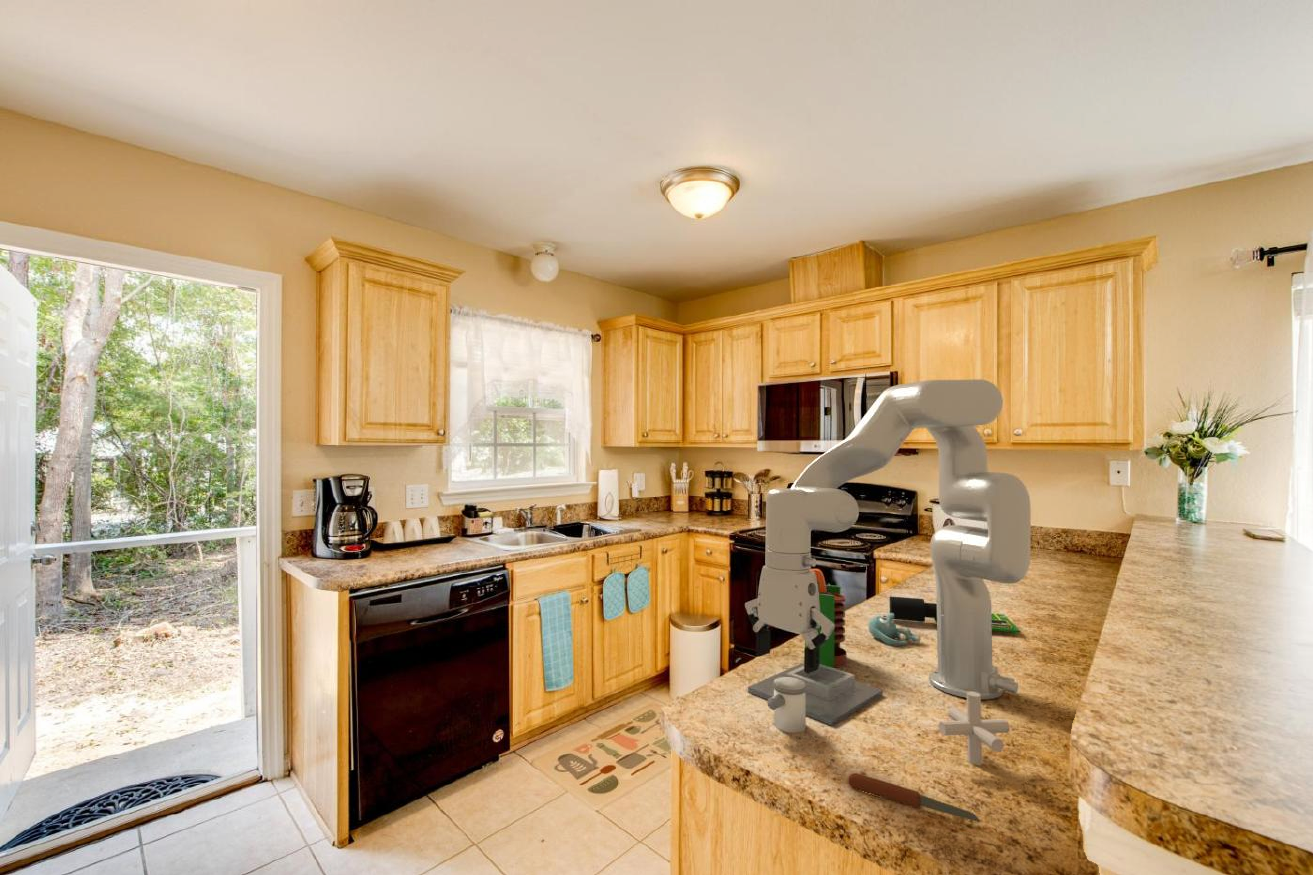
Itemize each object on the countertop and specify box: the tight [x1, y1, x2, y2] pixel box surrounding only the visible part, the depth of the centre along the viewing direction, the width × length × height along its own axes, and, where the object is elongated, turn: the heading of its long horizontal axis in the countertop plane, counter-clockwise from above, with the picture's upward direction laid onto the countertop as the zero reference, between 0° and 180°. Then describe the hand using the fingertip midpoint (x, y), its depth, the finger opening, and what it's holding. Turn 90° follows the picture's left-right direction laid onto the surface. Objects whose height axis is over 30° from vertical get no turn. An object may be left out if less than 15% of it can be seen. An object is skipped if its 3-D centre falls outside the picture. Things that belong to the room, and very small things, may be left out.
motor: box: [804, 568, 847, 669], centre depth 123 cm, size 10×9×20 cm
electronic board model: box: [889, 595, 1021, 634], centre depth 151 cm, size 30×7×15 cm
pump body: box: [766, 677, 807, 734], centre depth 93 cm, size 5×8×7 cm
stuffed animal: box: [868, 612, 921, 647], centre depth 136 cm, size 11×7×12 cm
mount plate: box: [747, 663, 883, 727], centre depth 106 cm, size 18×18×3 cm
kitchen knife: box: [847, 772, 981, 823], centre depth 72 cm, size 16×1×2 cm, turn 57°
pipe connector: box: [938, 691, 1011, 766], centre depth 82 cm, size 10×10×10 cm
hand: (786, 662), depth 94 cm, fingers open, 9 cm apart
